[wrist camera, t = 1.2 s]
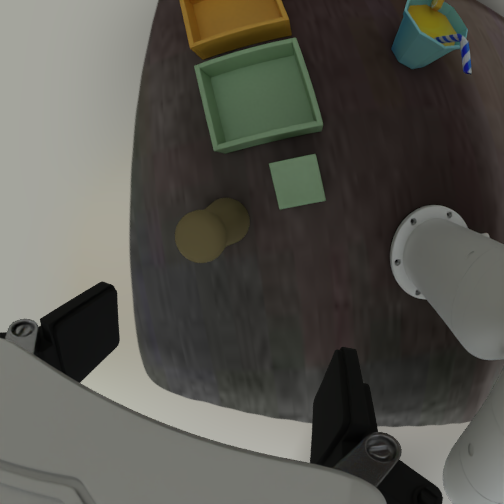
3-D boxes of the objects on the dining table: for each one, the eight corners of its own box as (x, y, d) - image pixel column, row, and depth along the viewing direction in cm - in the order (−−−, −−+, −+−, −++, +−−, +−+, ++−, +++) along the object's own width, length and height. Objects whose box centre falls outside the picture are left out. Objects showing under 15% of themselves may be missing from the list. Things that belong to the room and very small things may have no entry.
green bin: (297, 52, 29) (295, 37, 25) (321, 131, 31) (323, 125, 27) (206, 76, 32) (193, 65, 28) (225, 153, 34) (213, 151, 30)
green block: (314, 156, 32) (315, 153, 28) (323, 197, 33) (325, 200, 29) (274, 165, 34) (268, 163, 29) (283, 204, 35) (279, 209, 30)
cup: (440, 110, 27) (504, 83, 13) (387, 100, 29) (434, 59, 14) (427, 24, 23) (468, -27, 9) (376, 13, 25) (401, -51, 11)
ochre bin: (269, -19, 26) (264, -36, 22) (291, 35, 28) (289, 19, 24) (189, 5, 29) (177, -9, 25) (202, 59, 31) (189, 48, 27)
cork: (200, 201, 37) (160, 213, 26) (245, 194, 35) (219, 202, 25) (208, 246, 38) (172, 273, 28) (253, 241, 37) (230, 268, 26)
